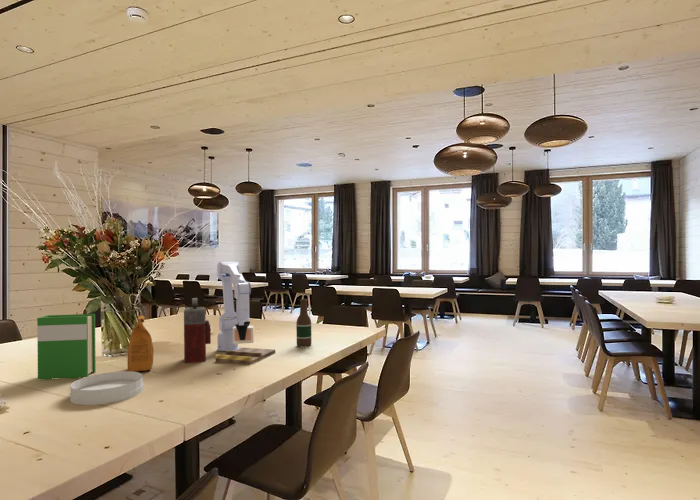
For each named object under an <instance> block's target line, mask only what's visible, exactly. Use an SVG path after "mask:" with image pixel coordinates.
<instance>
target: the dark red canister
mask: <svg viewBox="0 0 700 500" xmlns="http://www.w3.org/2000/svg"><path fill="white" fill-rule="evenodd" d="M211 331H212V329H211V324H210V322H209V320H208V319H206V307H204V306H198V297H193V298H191V307H185V309H184V311H183V351H184V352H183V355H184V357H183V358H184V359H183V361H184V362H183V363H184V364H190V363H201V362H202V363H204V362H206V361H207V353H206V352H207V349H206V348H207V345H210V344H211V343H212V341H211V340H212V339H211Z"/></svg>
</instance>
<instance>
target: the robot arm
mask: <svg viewBox="0 0 700 500" xmlns="http://www.w3.org/2000/svg"><path fill="white" fill-rule="evenodd" d="M216 268H217V269H216V271H217V278H218V280H220V281H221V284H222V295H223V306H224V307H223V309H224V312H223V313H222V314H221V315H220V316H219V318H218V319H219V321H218V322H219V323H218V324H219V325H218V328H219V331H220V332H219V333H218V334H217V342H216V343H217V349H216V352H217V351H219V352H220V351H221V352H226V351H227V350H229V351H235V350H238V349H240V348H242V346H239V344H233V327H236V328H237V330H238V333H239V338H240V340H245V337H246V331H247V327H248V326H250V324H251V318H250V295H251V294H252V293H251V292H252V285H251V283H250V281H247V280H246V279H245V277H244V275H242V274H241V273H239V272H240V263H239V261H237V260H235V261H218V262H217V267H216ZM233 287H234V291H233ZM233 292H234V293H233ZM234 299H236V300H235V301H236V302H234ZM235 304H236V305H235ZM235 306H236V309H235ZM235 310H236V311H235Z"/></svg>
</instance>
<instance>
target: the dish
mask: <svg viewBox="0 0 700 500" xmlns="http://www.w3.org/2000/svg"><path fill="white" fill-rule="evenodd" d="M143 378H144V377H143V374H142V373H141V372H131V371H128V370H127V371H123V370H121V371H120V370H119V371H111V372H103V373H98V374H93V375H88V377H85V378H78V379H77V380H75V381H73V382H72V383H71V384H70V392H69V401H70V403H71V404H74V405H78V404H79V406H98V405H105V404H112V403H116V402H117V403H118V402H121V401H122V402H123V401H126V400H128V399H131V398H133V397H135V396H137V395H139V394H141V393H142V392H143V390H144V381H143Z"/></svg>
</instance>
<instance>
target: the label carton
mask: <svg viewBox="0 0 700 500" xmlns="http://www.w3.org/2000/svg"><path fill="white" fill-rule="evenodd" d="M254 328H255V326H254V325H249V326H248V327H247V331H246V337H245V340H240V338H239V333H238V330H237V328H236V327H233V344H238V345H239V344H240V345H241V344H253V343H254V342H255V340H254V339H255V336H254V334H255V333H254V332H255V329H254Z"/></svg>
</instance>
